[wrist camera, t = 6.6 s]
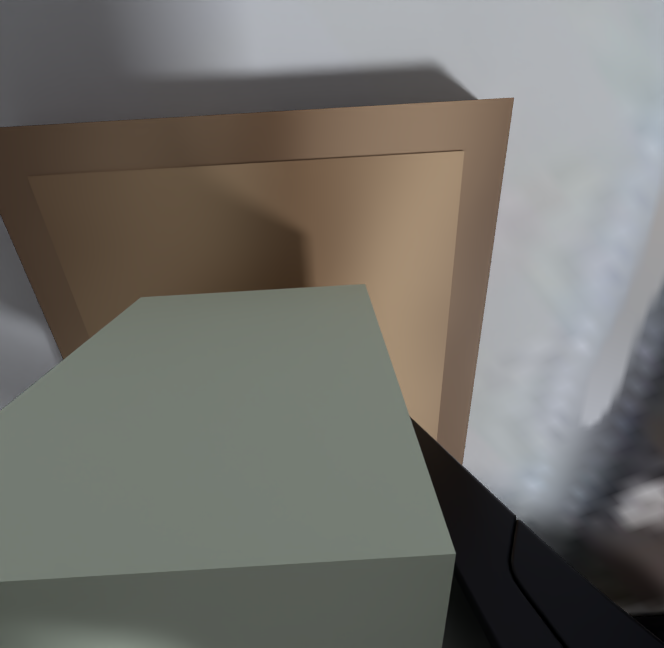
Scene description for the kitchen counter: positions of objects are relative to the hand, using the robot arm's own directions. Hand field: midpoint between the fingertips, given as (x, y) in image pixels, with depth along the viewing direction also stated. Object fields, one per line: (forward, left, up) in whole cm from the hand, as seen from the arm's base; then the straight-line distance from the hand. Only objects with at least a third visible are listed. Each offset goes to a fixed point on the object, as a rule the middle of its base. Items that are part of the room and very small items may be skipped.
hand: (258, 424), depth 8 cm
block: (0, 0, -2) cm, 2 cm away
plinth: (0, 0, -4) cm, 5 cm away
